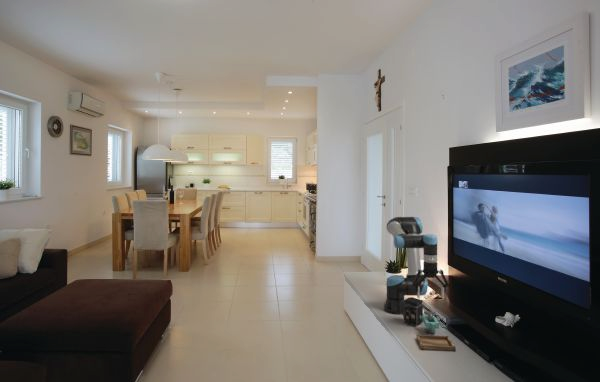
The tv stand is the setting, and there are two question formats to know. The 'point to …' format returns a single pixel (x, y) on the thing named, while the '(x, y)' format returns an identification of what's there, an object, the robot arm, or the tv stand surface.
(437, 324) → the teal rectangular frame
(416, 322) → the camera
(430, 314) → the mallet
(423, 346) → the tray
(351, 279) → the tv stand surface
